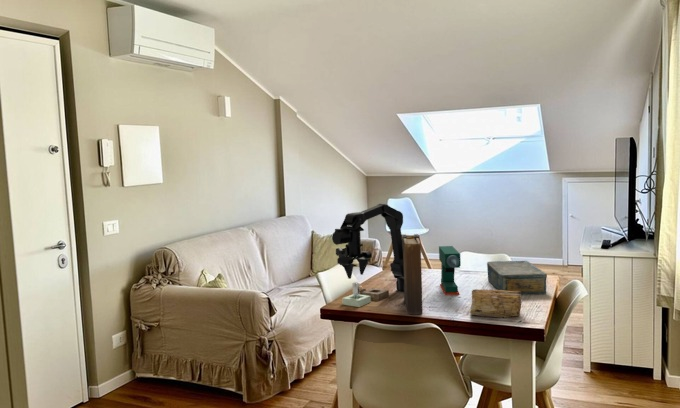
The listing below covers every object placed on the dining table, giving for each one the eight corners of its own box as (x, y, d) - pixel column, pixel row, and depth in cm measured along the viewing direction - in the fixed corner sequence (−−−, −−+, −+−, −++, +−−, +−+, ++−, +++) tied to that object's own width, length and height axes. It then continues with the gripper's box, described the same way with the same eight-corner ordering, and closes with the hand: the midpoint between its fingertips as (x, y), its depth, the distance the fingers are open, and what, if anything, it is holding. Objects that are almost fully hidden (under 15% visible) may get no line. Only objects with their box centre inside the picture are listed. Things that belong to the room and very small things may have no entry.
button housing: (366, 295, 259) (365, 288, 259) (360, 297, 256) (360, 290, 256) (358, 294, 262) (358, 287, 262) (353, 296, 258) (352, 289, 258)
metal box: (528, 279, 279) (527, 260, 278) (548, 295, 246) (548, 273, 246) (485, 280, 280) (485, 261, 279) (500, 296, 248) (500, 274, 247)
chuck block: (388, 296, 254) (388, 290, 254) (378, 301, 247) (378, 294, 247) (372, 294, 260) (372, 288, 259) (362, 299, 253) (361, 292, 252)
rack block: (370, 303, 245) (370, 295, 245) (359, 307, 238) (358, 300, 238) (354, 300, 250) (354, 293, 250) (342, 305, 243) (342, 298, 243)
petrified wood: (520, 309, 223) (521, 287, 220) (521, 325, 211) (521, 302, 208) (471, 306, 229) (471, 284, 226) (469, 322, 217) (469, 299, 214)
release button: (363, 293, 259) (363, 286, 259) (360, 295, 257) (360, 287, 256) (358, 293, 261) (358, 285, 261) (355, 294, 259) (354, 286, 258)
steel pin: (361, 302, 244) (361, 283, 244) (357, 304, 242) (356, 284, 241) (355, 301, 246) (355, 282, 245) (351, 303, 244) (351, 283, 243)
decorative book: (404, 300, 246) (401, 234, 244) (420, 300, 246) (417, 234, 244) (406, 315, 223) (404, 242, 221) (424, 315, 223) (421, 242, 220)
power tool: (465, 302, 239) (464, 257, 238) (449, 302, 239) (448, 257, 238) (454, 285, 271) (453, 245, 269) (439, 286, 271) (438, 246, 270)
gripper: (351, 238, 254) (353, 271, 256) (326, 243, 239) (328, 279, 241) (371, 239, 248) (373, 273, 249) (347, 245, 233) (348, 281, 234)
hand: (355, 276), depth 243 cm, fingers open, 9 cm apart
